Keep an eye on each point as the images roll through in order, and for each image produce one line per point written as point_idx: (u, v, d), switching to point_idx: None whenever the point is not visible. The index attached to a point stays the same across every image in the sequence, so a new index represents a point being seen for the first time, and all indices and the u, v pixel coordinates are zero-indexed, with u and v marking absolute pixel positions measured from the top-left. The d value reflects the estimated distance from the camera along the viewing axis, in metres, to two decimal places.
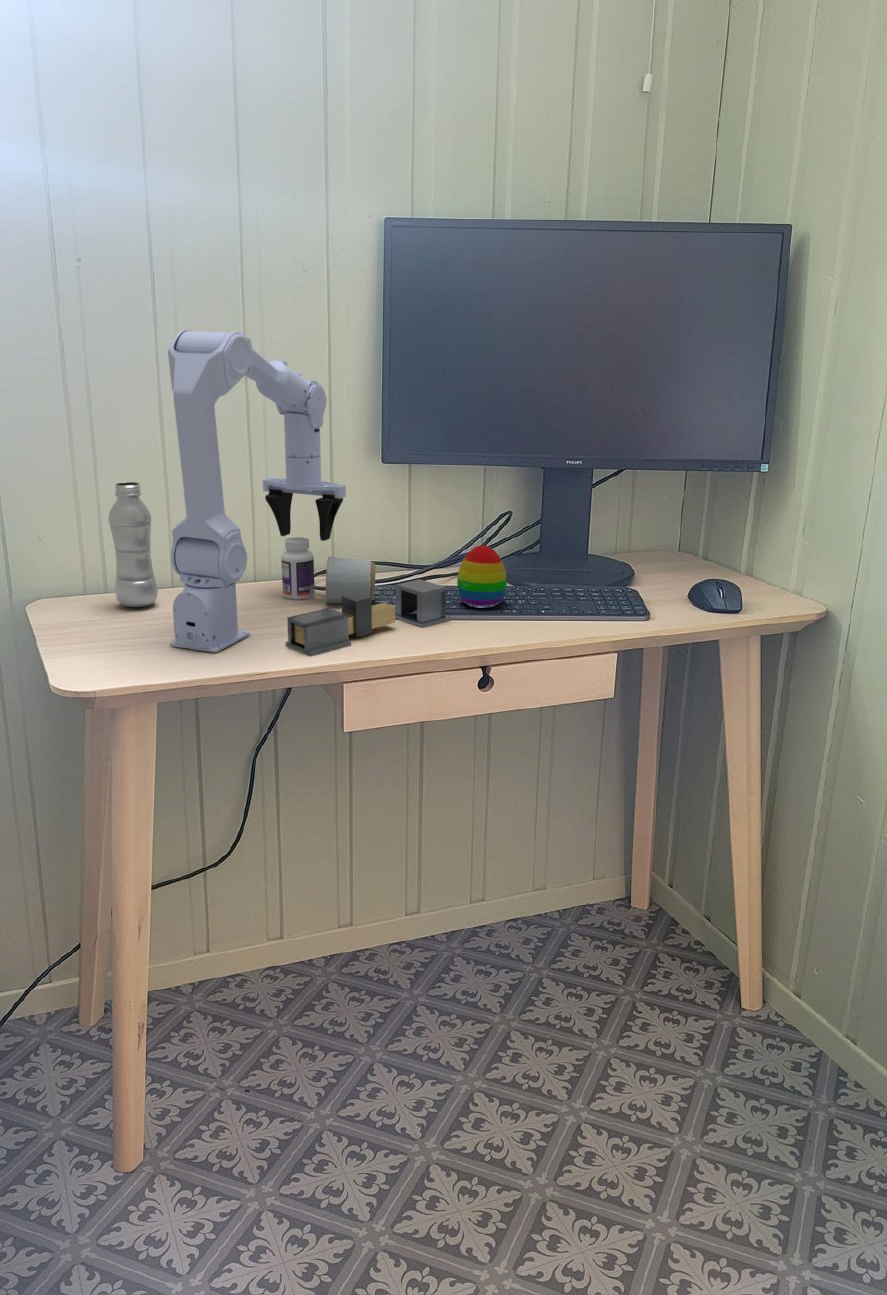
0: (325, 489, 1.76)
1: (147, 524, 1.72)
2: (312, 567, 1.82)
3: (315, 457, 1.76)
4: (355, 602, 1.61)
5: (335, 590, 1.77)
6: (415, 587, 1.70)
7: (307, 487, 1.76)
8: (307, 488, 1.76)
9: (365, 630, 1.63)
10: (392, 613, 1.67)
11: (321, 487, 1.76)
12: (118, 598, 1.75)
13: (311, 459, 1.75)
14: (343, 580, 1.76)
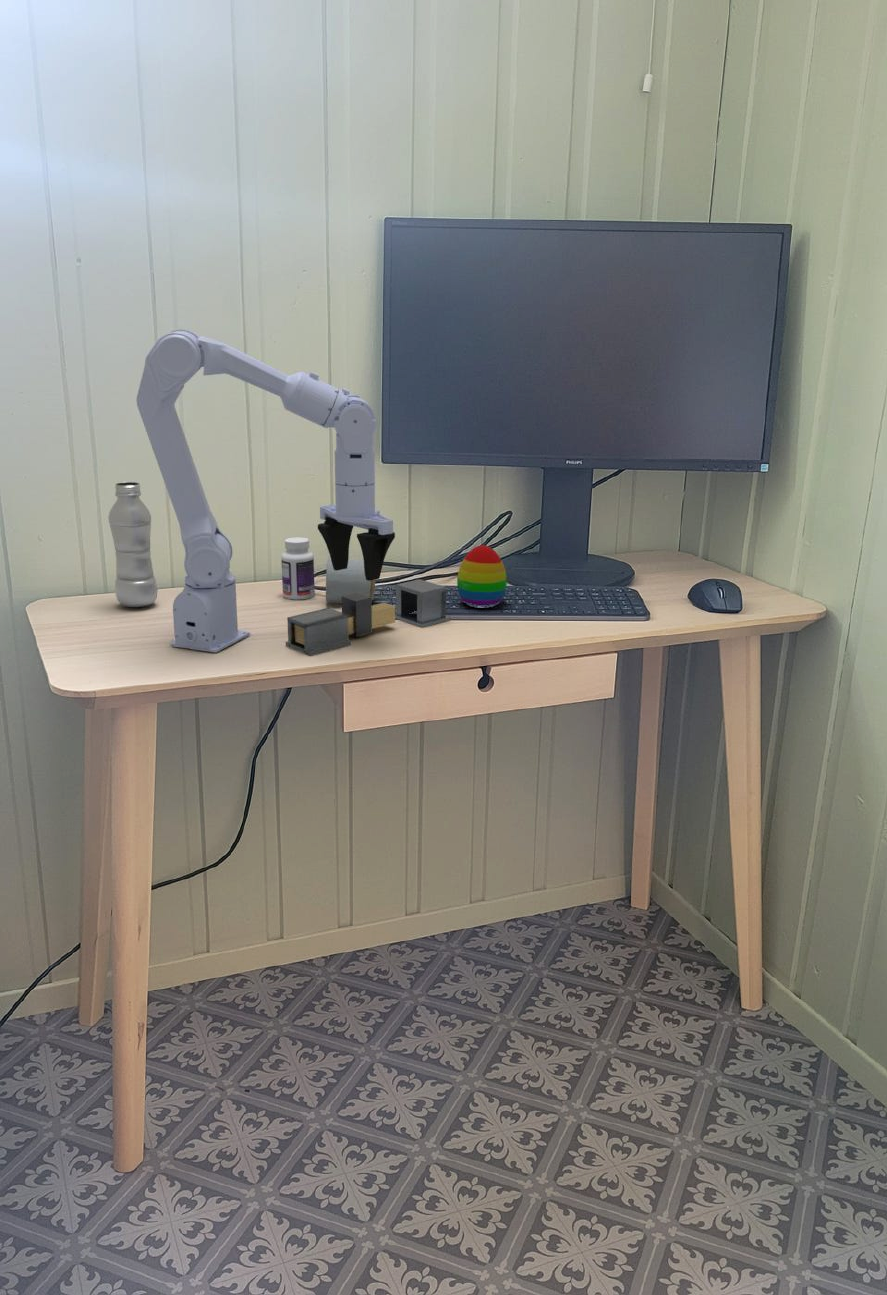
0: (369, 523, 1.54)
1: (147, 524, 1.72)
2: (312, 567, 1.82)
3: (363, 486, 1.55)
4: (355, 602, 1.61)
5: (335, 589, 1.77)
6: (415, 587, 1.70)
7: (351, 519, 1.55)
8: (351, 520, 1.55)
9: (365, 630, 1.63)
10: (392, 613, 1.67)
11: (365, 520, 1.54)
12: (118, 598, 1.75)
13: (357, 488, 1.54)
14: (343, 580, 1.76)
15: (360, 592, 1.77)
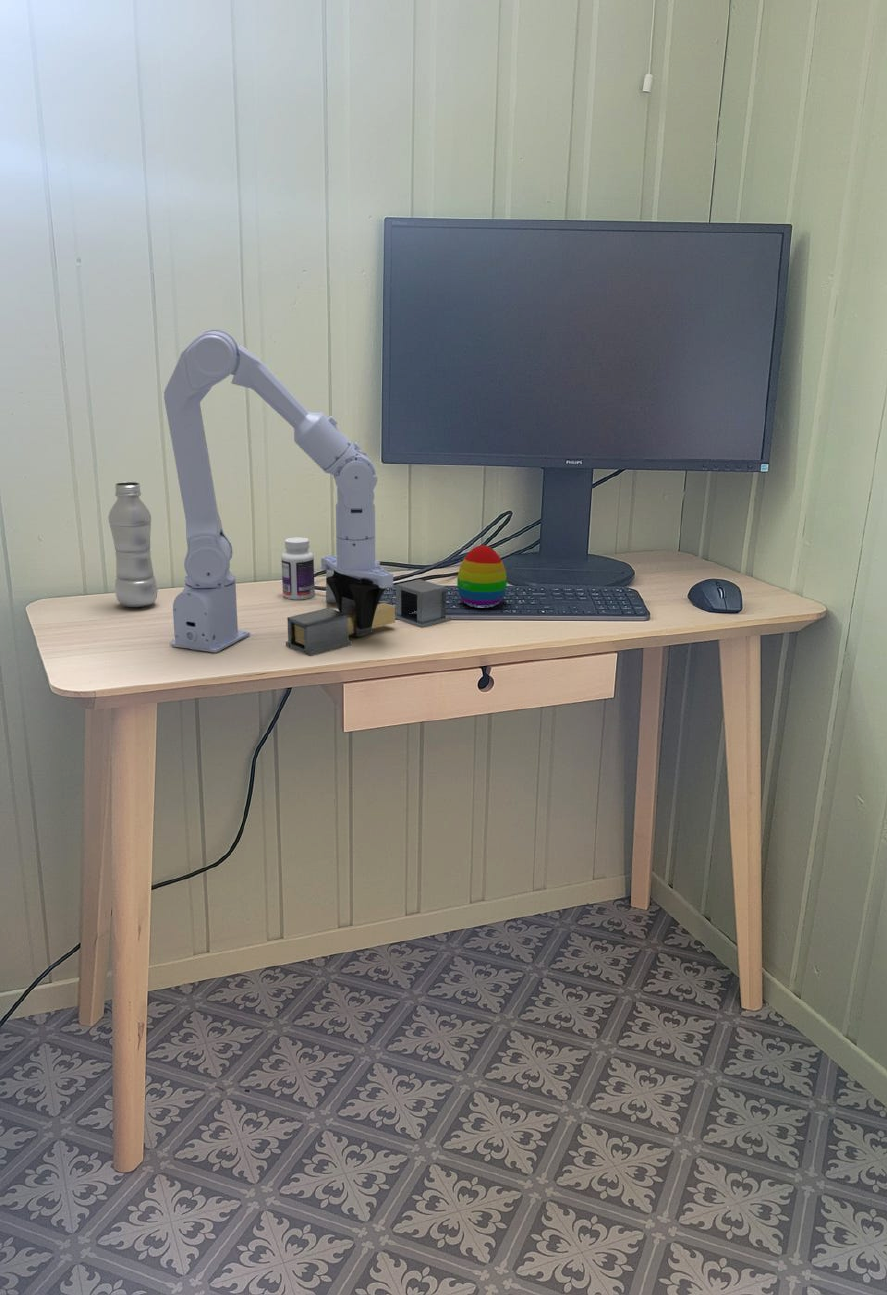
0: (369, 576, 1.57)
1: (147, 524, 1.72)
2: (312, 567, 1.82)
3: (363, 540, 1.57)
4: None
5: None
6: (415, 587, 1.70)
7: (352, 572, 1.58)
8: (352, 573, 1.58)
9: (365, 630, 1.63)
10: (392, 613, 1.67)
11: (365, 574, 1.57)
12: (118, 598, 1.75)
13: (358, 542, 1.57)
14: None
15: None
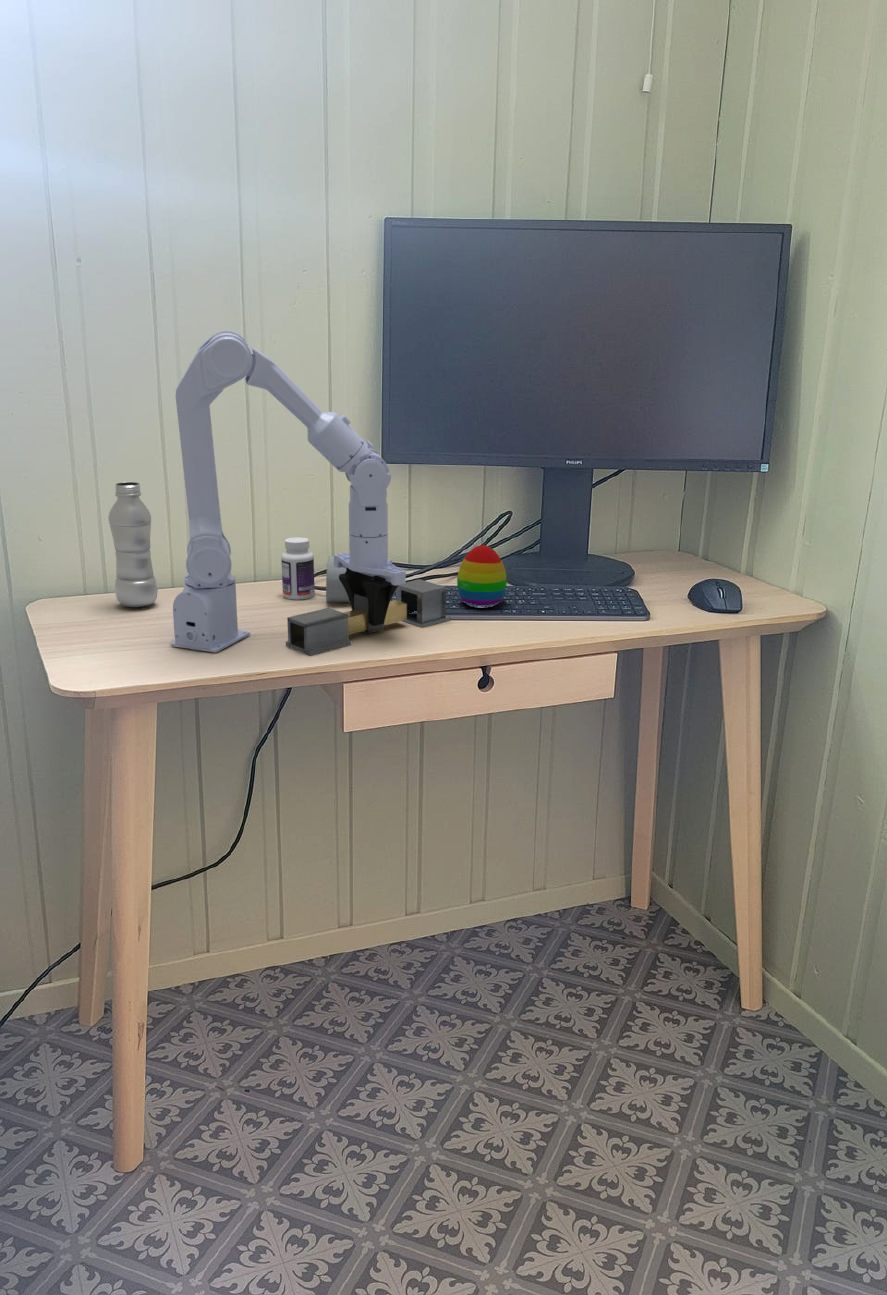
0: (382, 573, 1.58)
1: (147, 524, 1.72)
2: (312, 567, 1.82)
3: (376, 537, 1.59)
4: (367, 599, 1.62)
5: (335, 588, 1.77)
6: (415, 587, 1.70)
7: (364, 569, 1.59)
8: (364, 570, 1.60)
9: (377, 627, 1.65)
10: (404, 610, 1.68)
11: (378, 571, 1.58)
12: (118, 598, 1.75)
13: (371, 539, 1.58)
14: None
15: None
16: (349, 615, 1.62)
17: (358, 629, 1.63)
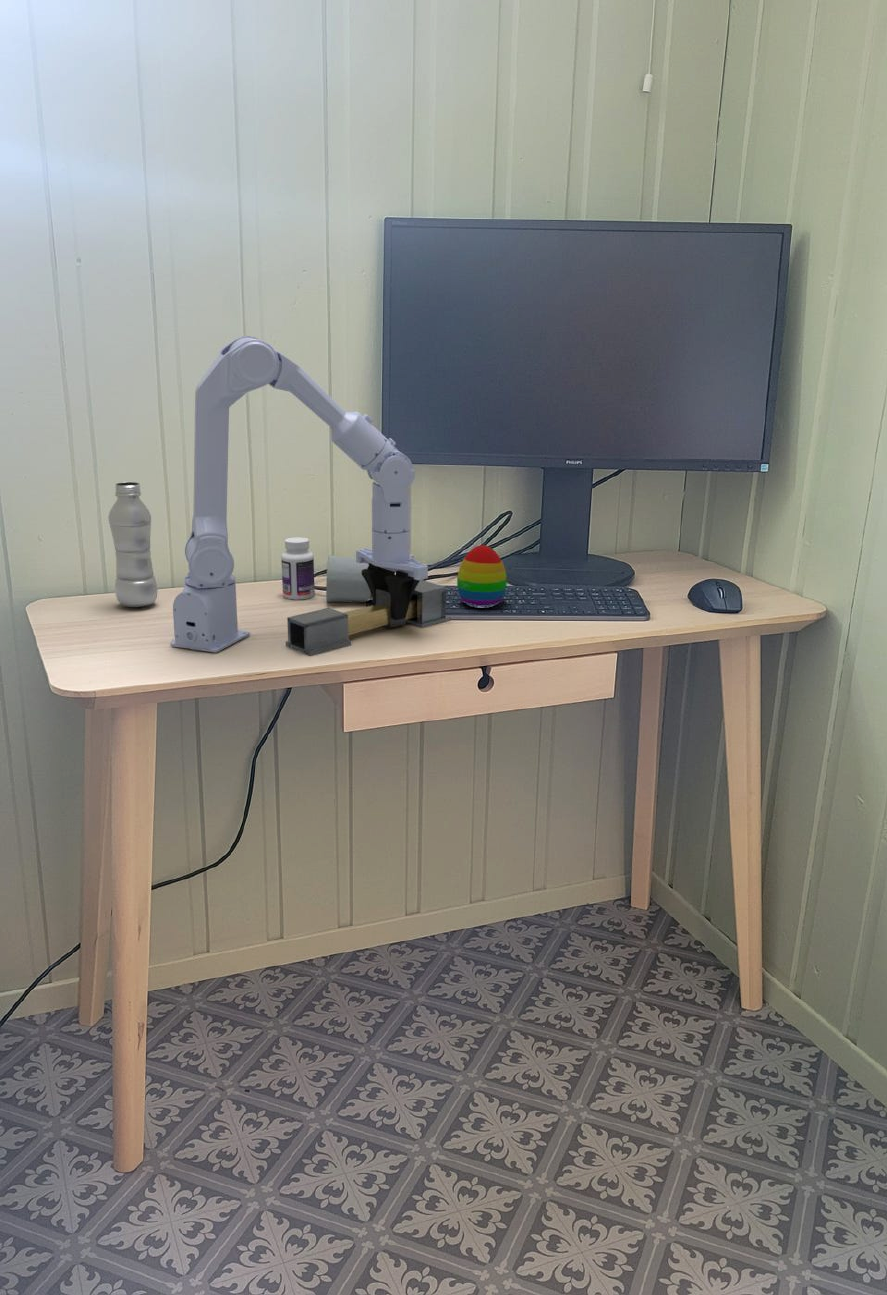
0: (404, 568, 1.61)
1: (147, 524, 1.72)
2: (312, 567, 1.82)
3: (399, 533, 1.62)
4: None
5: (336, 588, 1.78)
6: None
7: (387, 564, 1.62)
8: (387, 565, 1.62)
9: (399, 622, 1.67)
10: None
11: (401, 566, 1.61)
12: (118, 598, 1.75)
13: (393, 535, 1.61)
14: (344, 578, 1.77)
15: (360, 591, 1.78)
16: (372, 609, 1.65)
17: (380, 623, 1.65)
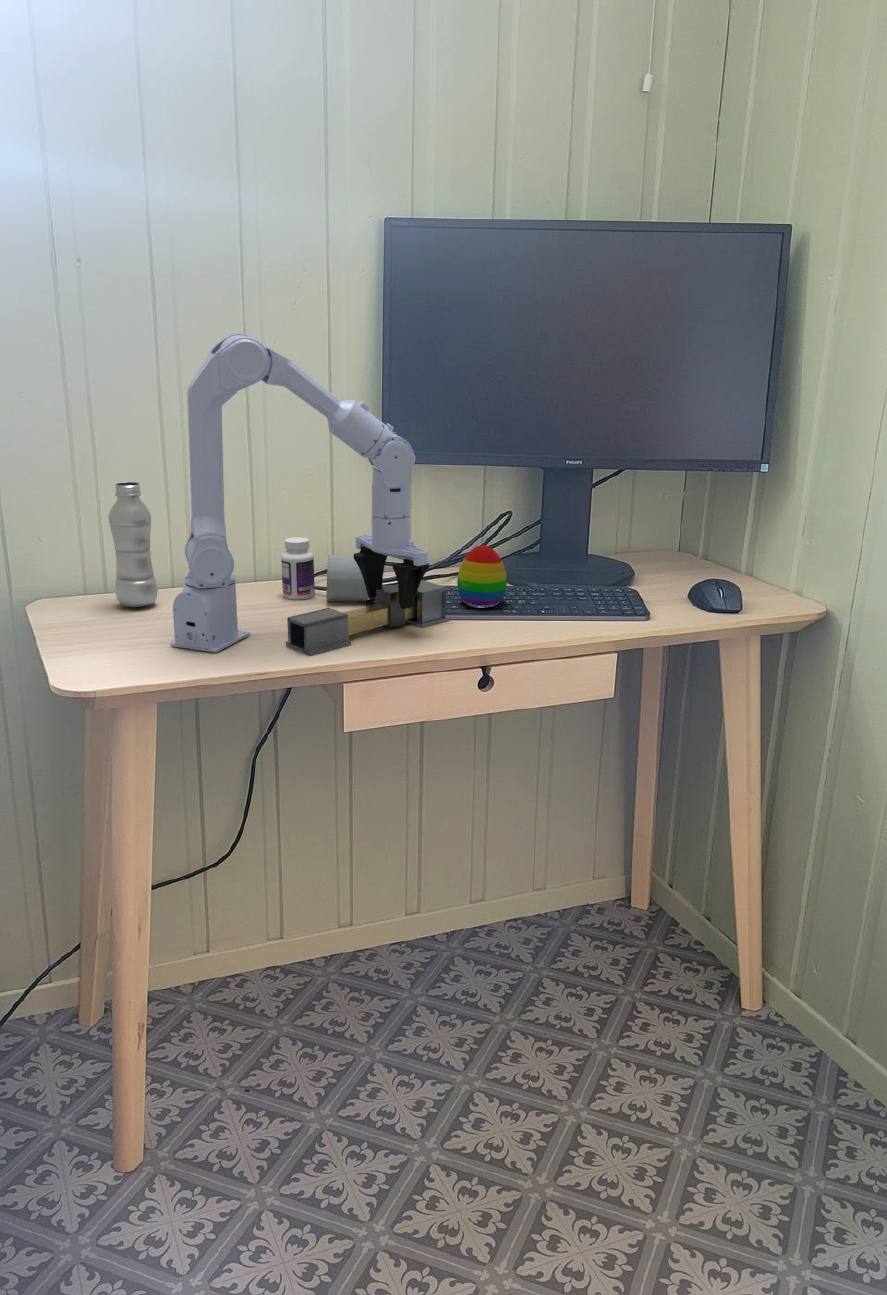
0: (404, 554, 1.60)
1: (147, 524, 1.72)
2: (312, 567, 1.82)
3: (399, 518, 1.61)
4: (390, 594, 1.65)
5: (336, 587, 1.78)
6: None
7: (387, 550, 1.62)
8: (387, 551, 1.62)
9: (399, 622, 1.67)
10: None
11: (400, 552, 1.61)
12: (118, 598, 1.75)
13: (393, 520, 1.61)
14: (344, 578, 1.78)
15: (361, 590, 1.78)
16: (372, 609, 1.65)
17: (380, 623, 1.65)
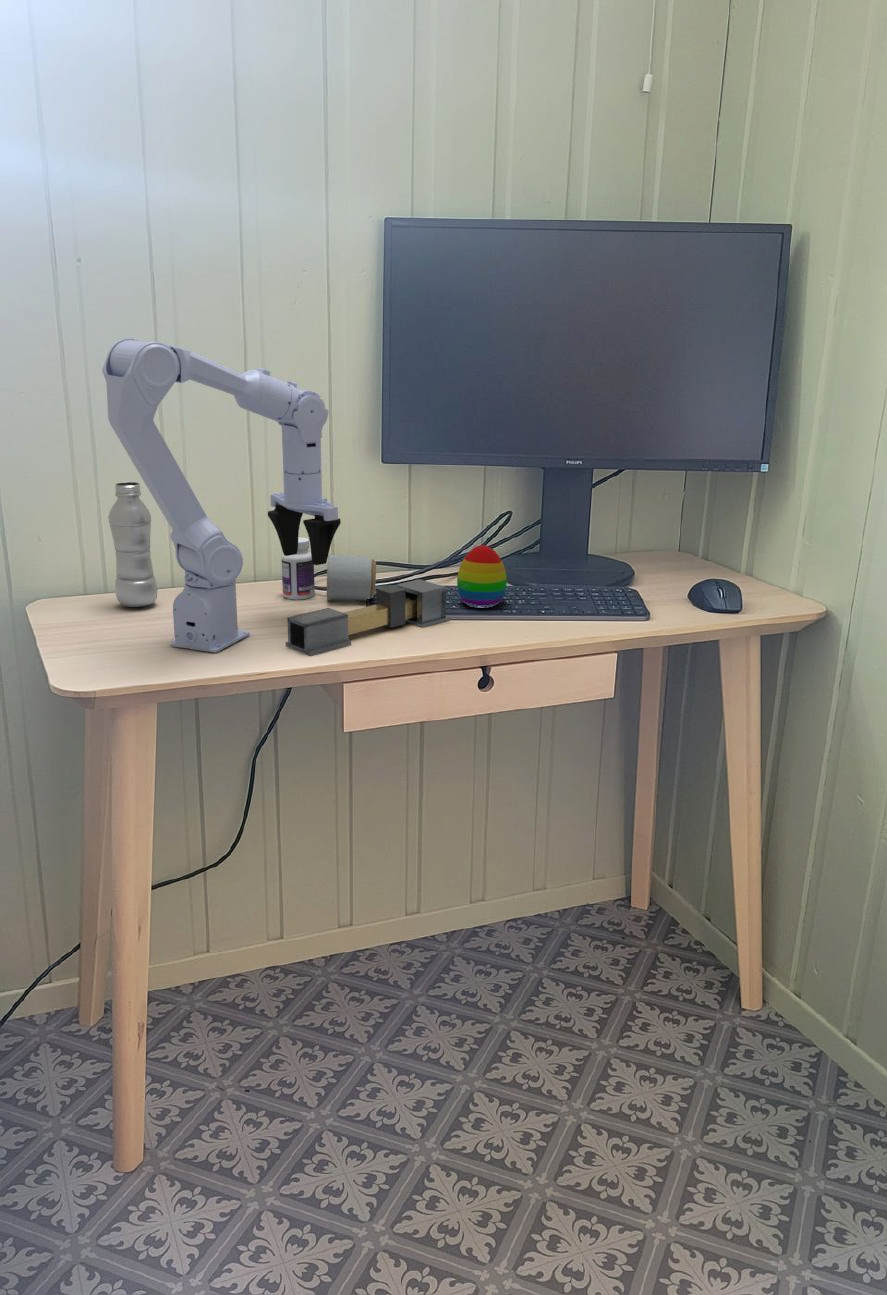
0: (314, 509, 1.61)
1: (147, 524, 1.72)
2: (312, 567, 1.82)
3: (309, 474, 1.61)
4: (390, 594, 1.65)
5: (336, 587, 1.78)
6: (415, 587, 1.70)
7: (298, 506, 1.62)
8: (298, 507, 1.62)
9: (399, 622, 1.67)
10: None
11: (311, 507, 1.61)
12: (118, 598, 1.75)
13: (303, 476, 1.61)
14: (344, 577, 1.78)
15: (361, 589, 1.79)
16: (372, 609, 1.65)
17: (380, 623, 1.65)
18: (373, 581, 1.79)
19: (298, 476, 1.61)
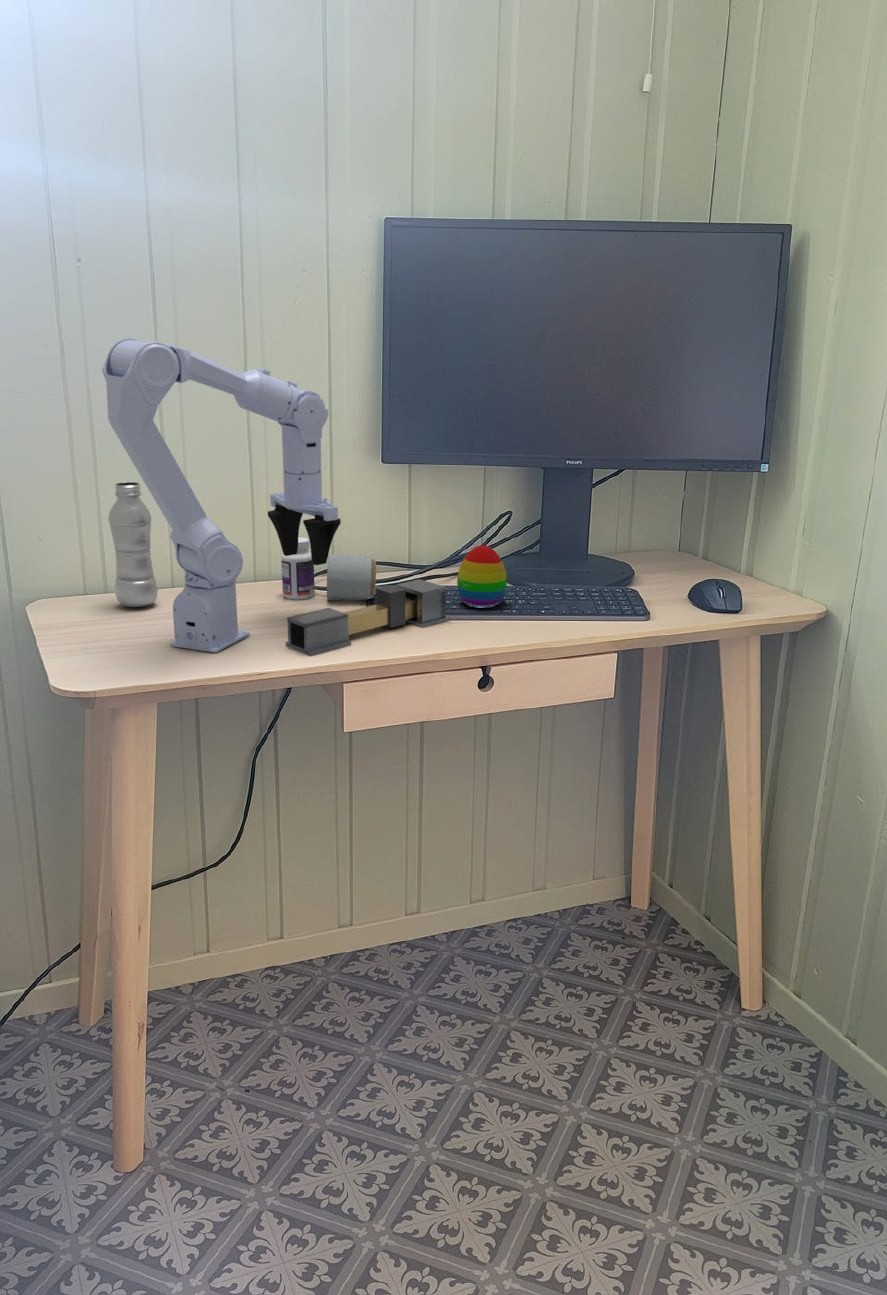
0: (314, 509, 1.61)
1: (147, 524, 1.72)
2: (312, 567, 1.82)
3: (309, 474, 1.61)
4: (390, 594, 1.65)
5: (336, 586, 1.78)
6: (415, 587, 1.70)
7: (298, 506, 1.62)
8: (298, 507, 1.62)
9: (399, 622, 1.67)
10: None
11: (311, 507, 1.61)
12: (118, 598, 1.75)
13: (303, 476, 1.61)
14: (344, 577, 1.78)
15: (361, 589, 1.79)
16: (372, 609, 1.65)
17: (380, 623, 1.65)
18: (373, 581, 1.79)
19: (298, 476, 1.61)
